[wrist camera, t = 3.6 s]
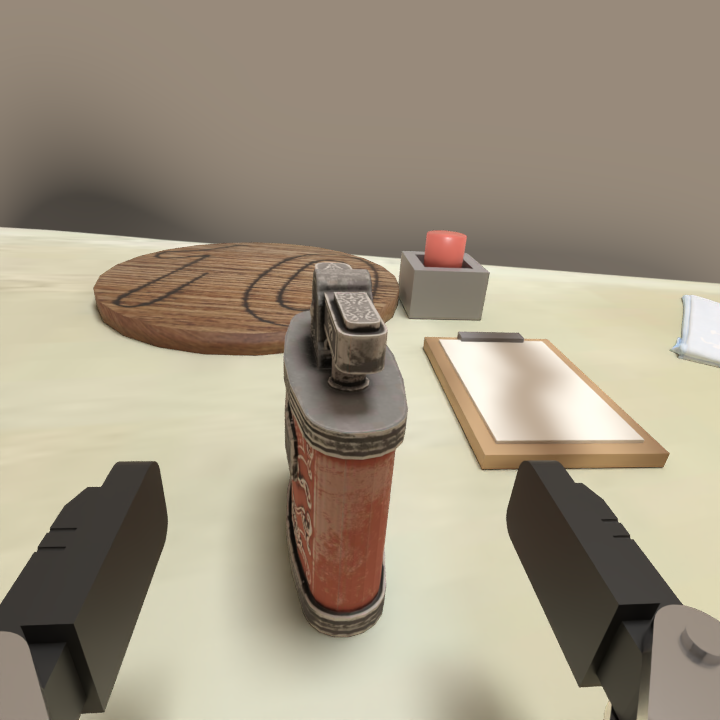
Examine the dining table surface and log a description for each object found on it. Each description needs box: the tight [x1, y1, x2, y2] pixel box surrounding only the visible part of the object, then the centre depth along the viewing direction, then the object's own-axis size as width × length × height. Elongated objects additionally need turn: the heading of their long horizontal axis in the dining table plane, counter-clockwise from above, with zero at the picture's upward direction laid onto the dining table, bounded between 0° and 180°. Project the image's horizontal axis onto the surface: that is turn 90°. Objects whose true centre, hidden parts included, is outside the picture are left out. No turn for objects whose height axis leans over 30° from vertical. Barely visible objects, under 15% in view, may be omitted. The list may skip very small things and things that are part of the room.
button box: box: [399, 251, 490, 320], centre depth 40 cm, size 6×6×4 cm
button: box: [423, 230, 467, 268], centre depth 39 cm, size 3×3×4 cm
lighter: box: [284, 262, 408, 637], centre depth 15 cm, size 8×3×10 cm, turn 10°
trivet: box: [93, 243, 399, 356], centre depth 41 cm, size 25×25×2 cm
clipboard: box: [423, 332, 670, 469], centre depth 27 cm, size 9×13×1 cm
